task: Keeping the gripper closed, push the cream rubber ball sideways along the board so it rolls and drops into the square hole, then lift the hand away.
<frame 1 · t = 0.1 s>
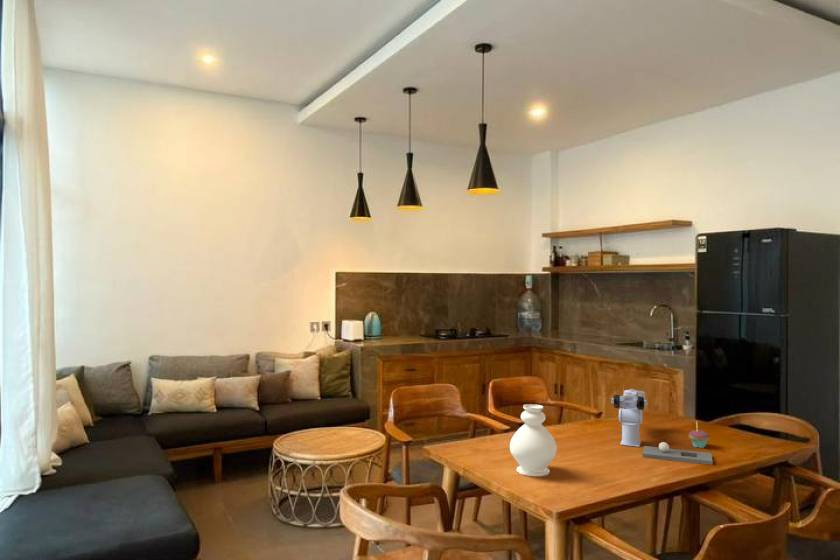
hand: (627, 404, 246), 22 cm above the table, tool horizontal, fingers open, 7 cm apart
decorative vase: (533, 471, 226), on the table
ball: (663, 447, 246), point 3 cm above the table, touching board
board: (676, 456, 244), on the table
cupcake: (698, 446, 259), on the table
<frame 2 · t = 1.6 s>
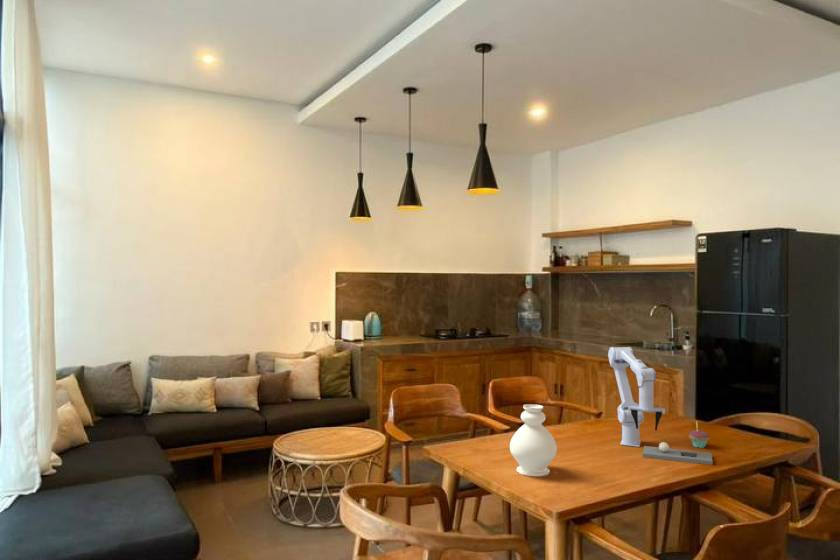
hand: (646, 429, 248), 10 cm above the table, tool pointing down, fingers open, 7 cm apart
nothing on the table moved.
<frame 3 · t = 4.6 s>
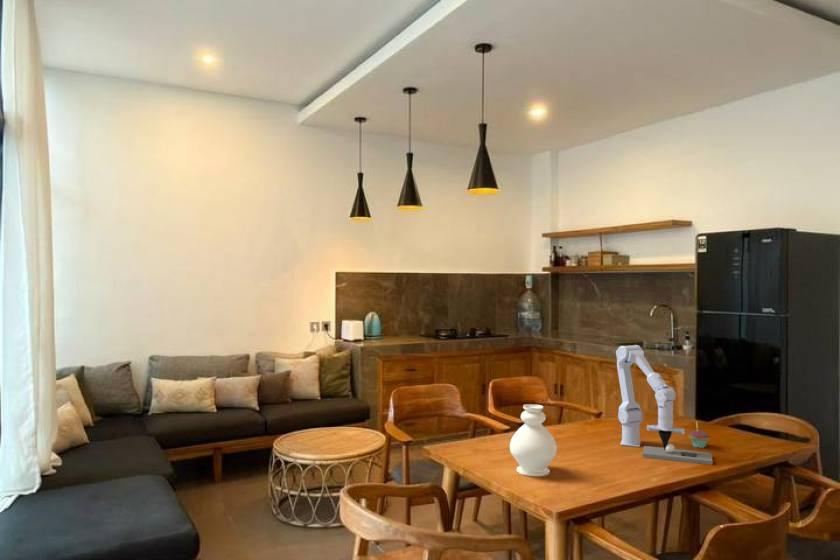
hand: (665, 449, 246), 3 cm above the table, tool pointing down, fingers closed, pressing on ball
ball: (669, 447, 245), point 3 cm above the table, tilted 63°, touching board, gripper
everything else where it was.
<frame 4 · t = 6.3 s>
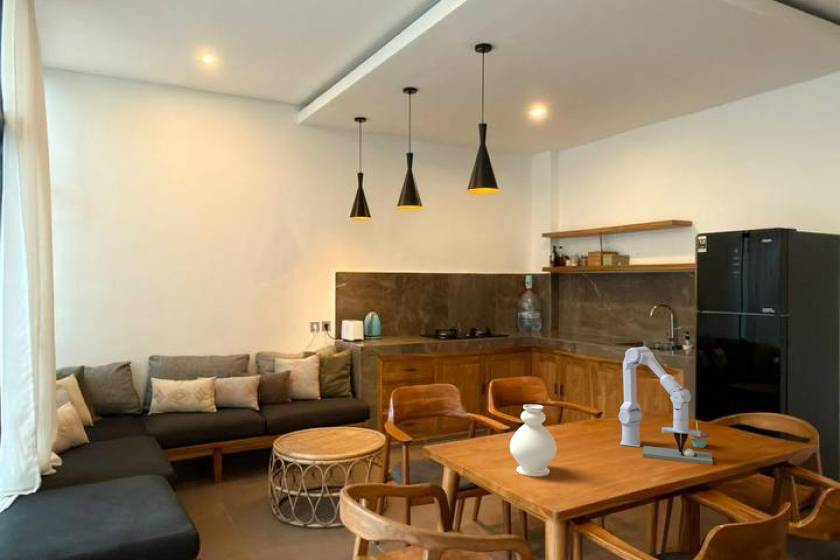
hand: (680, 451, 244), 2 cm above the table, tool pointing down, fingers closed
ball: (688, 453, 242), point 2 cm above the table, tilted 94°
everything else where it was.
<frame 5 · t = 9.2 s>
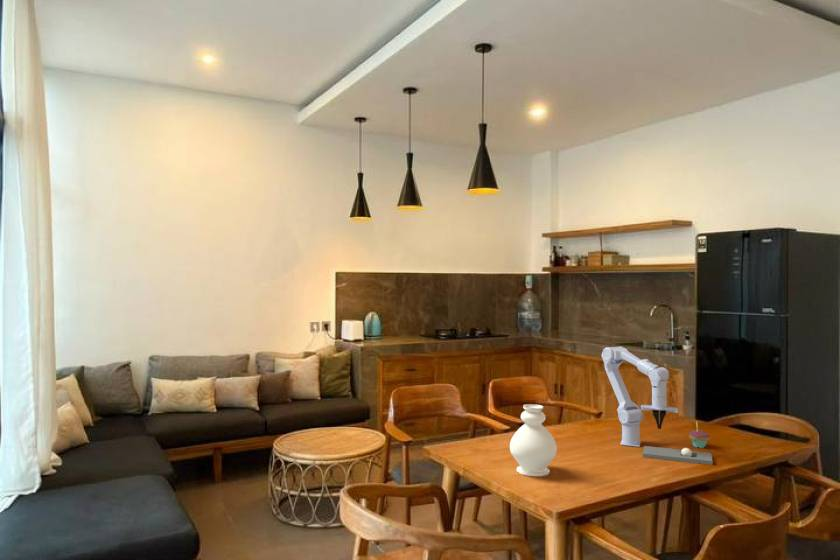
hand: (659, 428, 250), 10 cm above the table, tool pointing down, fingers closed
ball: (686, 452, 243), point 2 cm above the table, tilted 119°
everything else where it was.
at the end: ball 0.8 cm from the target spot on the board, point 2.0 cm above the board's base; ball moved 8.8 cm from its start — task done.
